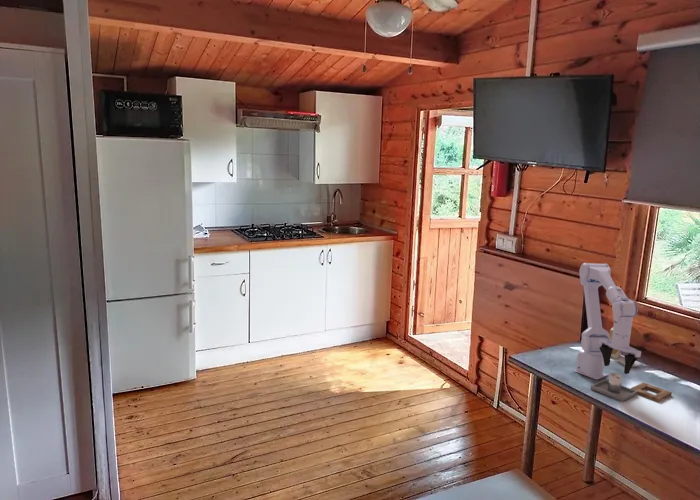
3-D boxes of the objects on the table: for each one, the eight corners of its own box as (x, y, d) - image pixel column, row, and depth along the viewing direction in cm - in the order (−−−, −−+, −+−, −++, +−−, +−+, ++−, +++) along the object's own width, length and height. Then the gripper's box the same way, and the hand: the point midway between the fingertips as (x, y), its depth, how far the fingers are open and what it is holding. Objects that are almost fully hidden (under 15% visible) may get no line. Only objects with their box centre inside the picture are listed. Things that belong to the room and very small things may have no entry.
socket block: (629, 391, 193) (630, 388, 193) (642, 385, 199) (643, 382, 199) (658, 402, 185) (659, 399, 185) (671, 395, 191) (671, 392, 191)
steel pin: (605, 389, 193) (607, 373, 192) (612, 387, 195) (614, 372, 194) (614, 393, 189) (616, 378, 188) (622, 392, 191) (624, 376, 190)
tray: (590, 389, 194) (590, 385, 193) (604, 383, 200) (605, 379, 199) (623, 402, 184) (623, 398, 184) (636, 395, 190) (637, 391, 190)
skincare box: (610, 352, 232) (613, 325, 230) (620, 355, 230) (624, 328, 228) (606, 356, 228) (609, 329, 225) (617, 359, 225) (620, 331, 223)
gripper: (647, 338, 184) (642, 374, 186) (609, 325, 196) (604, 360, 198) (636, 341, 180) (631, 378, 183) (597, 328, 192) (593, 363, 195)
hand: (616, 369), depth 190 cm, fingers open, 7 cm apart
